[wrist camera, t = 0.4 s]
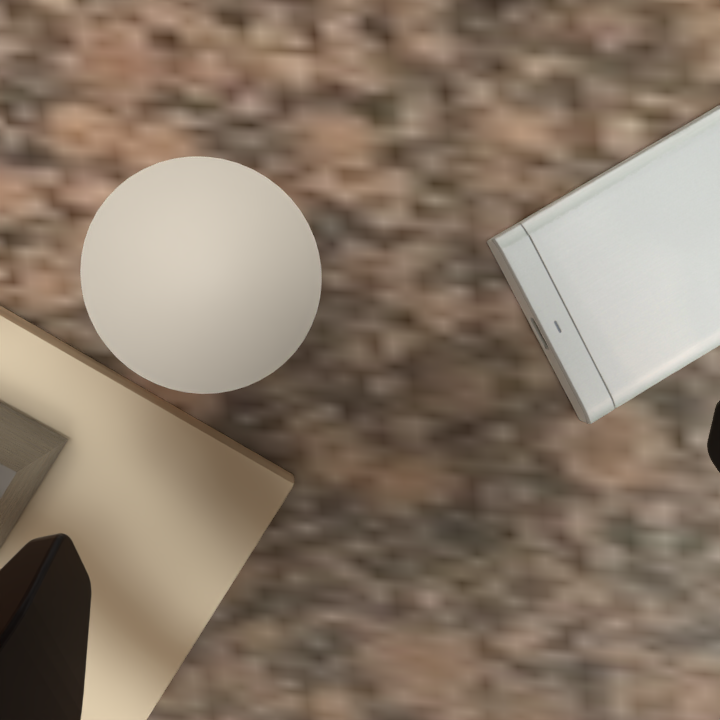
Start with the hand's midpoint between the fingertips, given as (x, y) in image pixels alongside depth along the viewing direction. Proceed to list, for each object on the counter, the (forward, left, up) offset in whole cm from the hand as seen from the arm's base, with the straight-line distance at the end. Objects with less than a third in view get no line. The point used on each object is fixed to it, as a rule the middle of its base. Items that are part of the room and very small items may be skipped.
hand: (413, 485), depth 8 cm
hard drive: (+11, -9, -15) cm, 21 cm away
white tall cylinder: (+1, +4, -15) cm, 15 cm away
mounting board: (-11, +6, -15) cm, 19 cm away
